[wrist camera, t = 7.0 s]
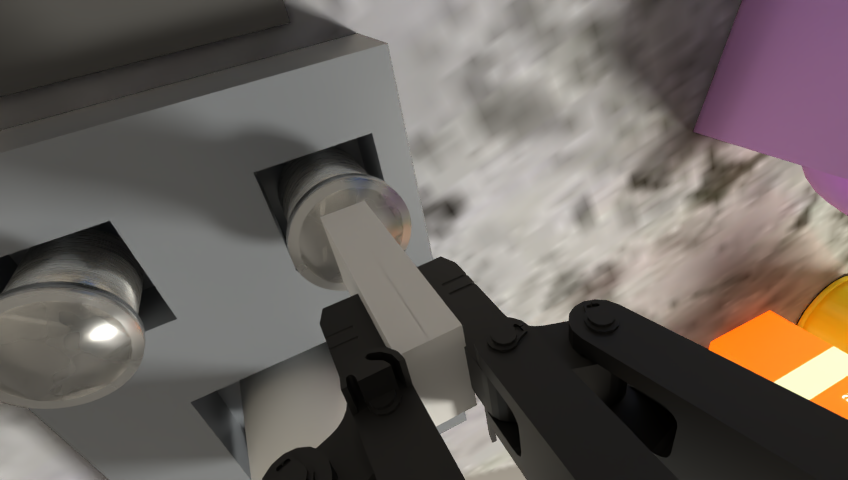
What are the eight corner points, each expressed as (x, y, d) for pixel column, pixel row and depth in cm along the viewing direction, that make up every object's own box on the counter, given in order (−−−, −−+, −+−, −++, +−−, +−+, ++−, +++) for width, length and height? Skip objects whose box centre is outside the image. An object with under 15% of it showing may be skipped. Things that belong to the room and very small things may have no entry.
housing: (-122, 163, 14) (-198, 209, 11) (357, 33, 18) (387, 43, 15) (200, 501, 26) (202, 562, 24) (441, 379, 30) (466, 419, 28)
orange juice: (710, 340, 45) (987, 534, 30) (770, 308, 48) (1056, 471, 32) (694, 390, 50) (929, 583, 34) (750, 358, 52) (993, 524, 36)
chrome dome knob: (-23, 248, 15) (-90, 333, 11) (115, 203, 16) (93, 268, 12) (59, 337, 17) (24, 430, 13) (174, 292, 18) (170, 368, 14)
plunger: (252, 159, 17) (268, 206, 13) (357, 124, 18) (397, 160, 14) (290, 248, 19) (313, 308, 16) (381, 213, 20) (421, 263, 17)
